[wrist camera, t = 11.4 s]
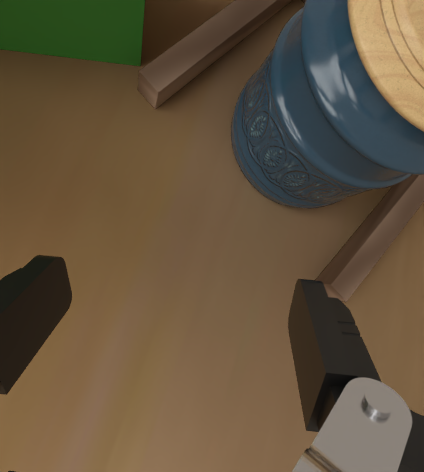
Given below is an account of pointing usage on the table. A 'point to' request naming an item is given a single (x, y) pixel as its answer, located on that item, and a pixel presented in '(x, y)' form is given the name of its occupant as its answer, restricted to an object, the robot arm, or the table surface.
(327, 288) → the shallow wooden tray
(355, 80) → the canister
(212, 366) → the table surface
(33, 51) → the hardback book
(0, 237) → the table surface
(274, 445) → the table surface
